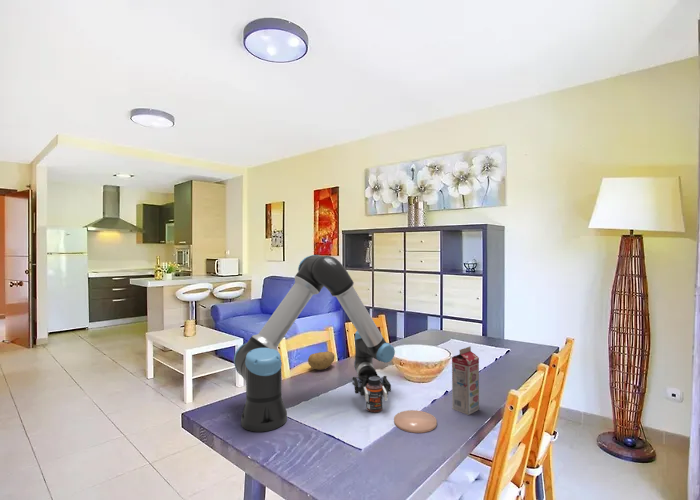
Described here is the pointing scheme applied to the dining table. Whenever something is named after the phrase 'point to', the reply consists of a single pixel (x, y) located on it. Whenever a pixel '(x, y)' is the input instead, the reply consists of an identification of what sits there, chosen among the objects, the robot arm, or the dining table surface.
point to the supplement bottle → (374, 395)
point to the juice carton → (465, 382)
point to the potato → (321, 360)
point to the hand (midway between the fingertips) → (376, 397)
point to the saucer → (415, 421)
